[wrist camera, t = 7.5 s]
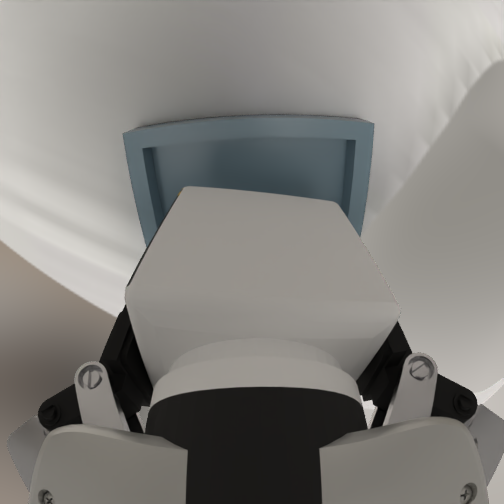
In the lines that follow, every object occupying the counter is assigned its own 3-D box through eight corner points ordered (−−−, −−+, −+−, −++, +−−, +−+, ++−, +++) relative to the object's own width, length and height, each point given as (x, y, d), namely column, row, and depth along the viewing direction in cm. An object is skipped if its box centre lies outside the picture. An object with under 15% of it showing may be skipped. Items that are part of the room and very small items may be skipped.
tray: (136, 127, 14) (122, 133, 12) (360, 118, 14) (374, 123, 12) (173, 297, 21) (167, 315, 19) (337, 291, 21) (344, 309, 19)
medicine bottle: (181, 183, 12) (43, 500, 2) (339, 199, 12) (475, 482, 2) (185, 302, 15) (146, 516, 5) (305, 311, 16) (338, 518, 6)
